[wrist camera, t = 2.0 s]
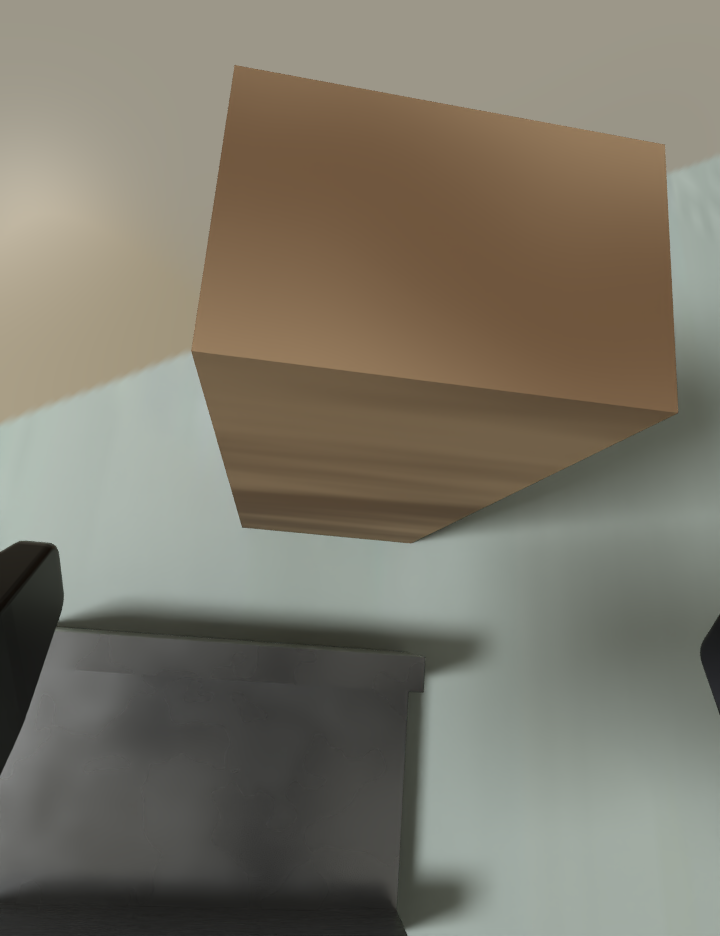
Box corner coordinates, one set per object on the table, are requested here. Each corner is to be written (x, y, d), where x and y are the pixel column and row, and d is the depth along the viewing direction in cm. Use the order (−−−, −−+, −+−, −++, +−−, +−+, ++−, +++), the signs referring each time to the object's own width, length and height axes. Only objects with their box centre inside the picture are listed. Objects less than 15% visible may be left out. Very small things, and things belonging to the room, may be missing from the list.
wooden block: (410, 543, 22) (678, 413, 8) (242, 527, 22) (192, 351, 7) (416, 436, 23) (664, 145, 9) (255, 417, 22) (235, 64, 8)
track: (405, 651, 21) (425, 657, 19) (389, 935, 19) (409, 988, 17) (39, 625, 20) (3, 627, 17) (-20, 929, 18) (-71, 986, 15)
